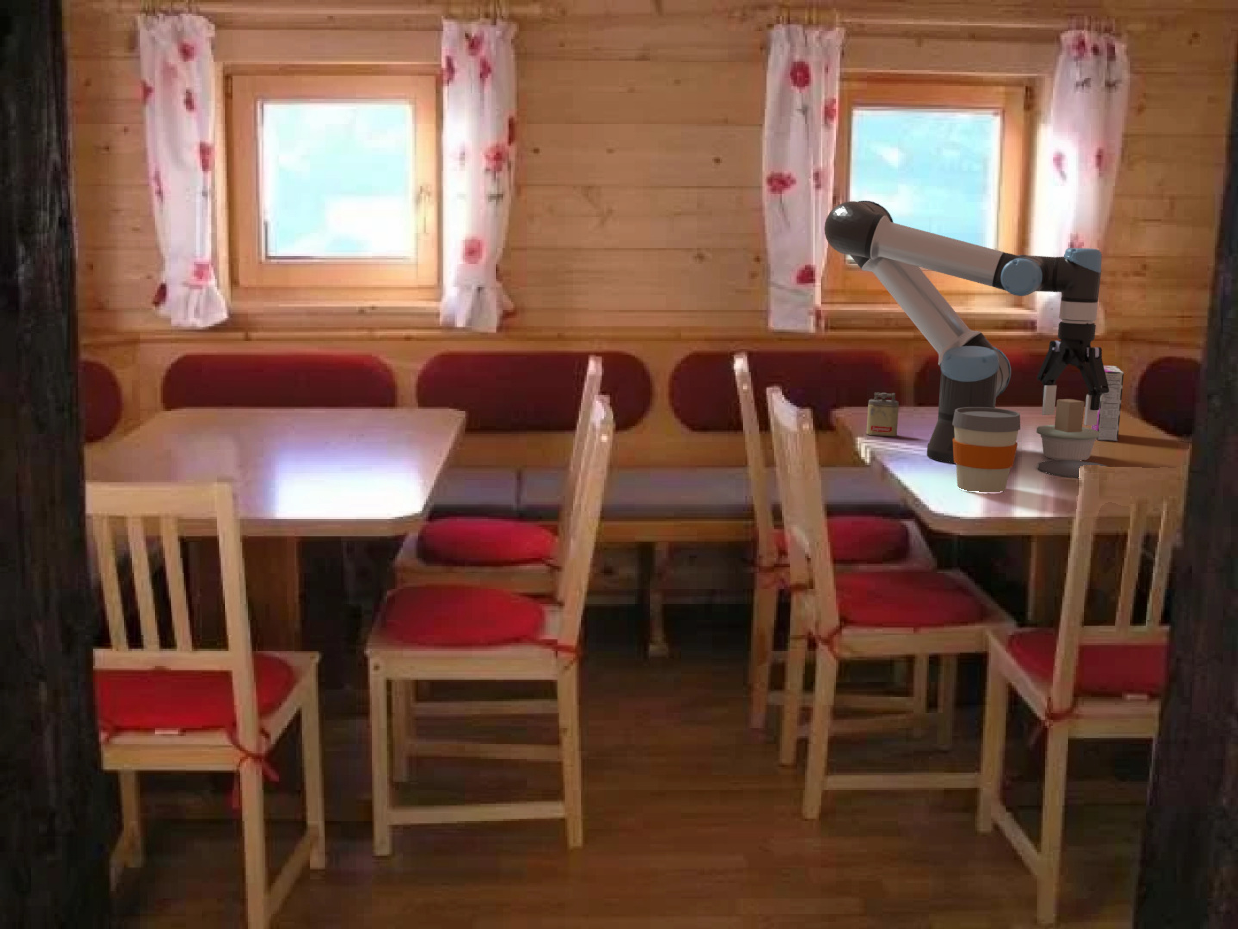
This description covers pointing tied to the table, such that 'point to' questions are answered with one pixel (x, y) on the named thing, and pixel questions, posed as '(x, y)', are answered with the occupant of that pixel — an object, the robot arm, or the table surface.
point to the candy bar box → (1110, 406)
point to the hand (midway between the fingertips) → (1068, 419)
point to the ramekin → (1067, 448)
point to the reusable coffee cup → (984, 447)
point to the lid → (1068, 422)
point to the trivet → (1063, 467)
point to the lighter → (882, 415)
